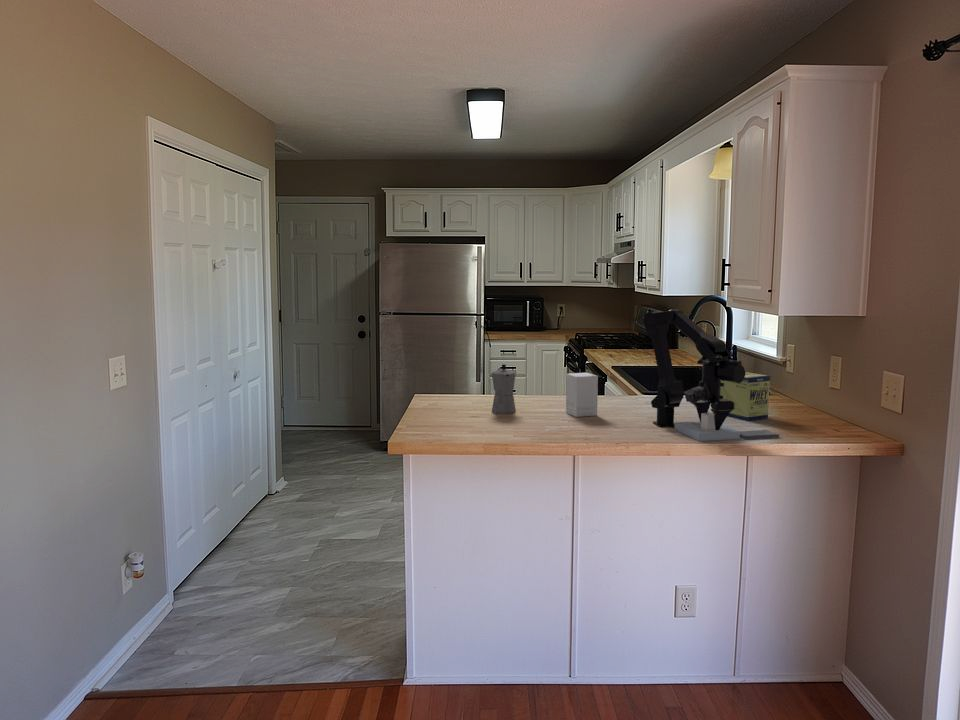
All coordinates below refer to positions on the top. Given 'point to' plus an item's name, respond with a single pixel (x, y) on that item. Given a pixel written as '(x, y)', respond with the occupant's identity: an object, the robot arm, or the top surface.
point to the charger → (707, 421)
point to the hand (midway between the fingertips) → (709, 426)
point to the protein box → (748, 396)
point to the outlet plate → (702, 435)
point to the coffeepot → (503, 391)
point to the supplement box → (581, 394)
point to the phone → (757, 434)
